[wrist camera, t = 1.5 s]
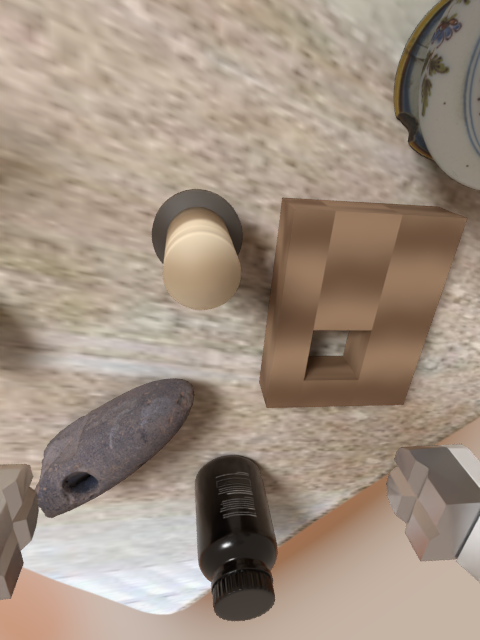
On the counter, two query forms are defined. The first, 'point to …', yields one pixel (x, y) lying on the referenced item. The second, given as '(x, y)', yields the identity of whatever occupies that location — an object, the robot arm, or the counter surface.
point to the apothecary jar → (444, 89)
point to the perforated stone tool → (110, 444)
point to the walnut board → (353, 299)
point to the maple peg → (198, 248)
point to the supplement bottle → (235, 537)
